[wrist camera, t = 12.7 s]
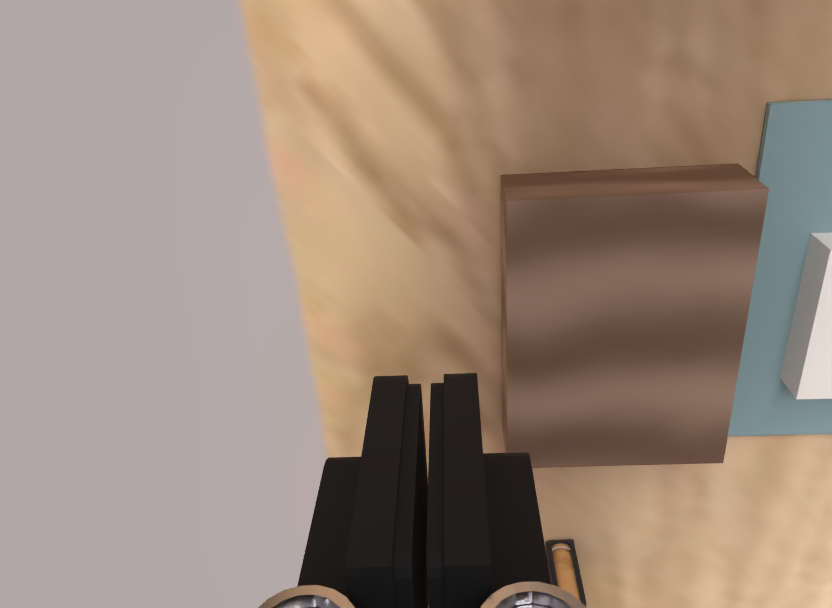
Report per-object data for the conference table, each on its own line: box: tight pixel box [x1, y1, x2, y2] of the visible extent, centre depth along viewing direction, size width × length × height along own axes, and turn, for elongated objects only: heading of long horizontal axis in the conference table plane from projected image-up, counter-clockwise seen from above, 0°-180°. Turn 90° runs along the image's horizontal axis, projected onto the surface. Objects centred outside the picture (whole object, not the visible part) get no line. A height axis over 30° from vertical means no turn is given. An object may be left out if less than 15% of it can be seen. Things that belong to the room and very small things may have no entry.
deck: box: [501, 164, 769, 468], centre depth 39 cm, size 16×12×4 cm
